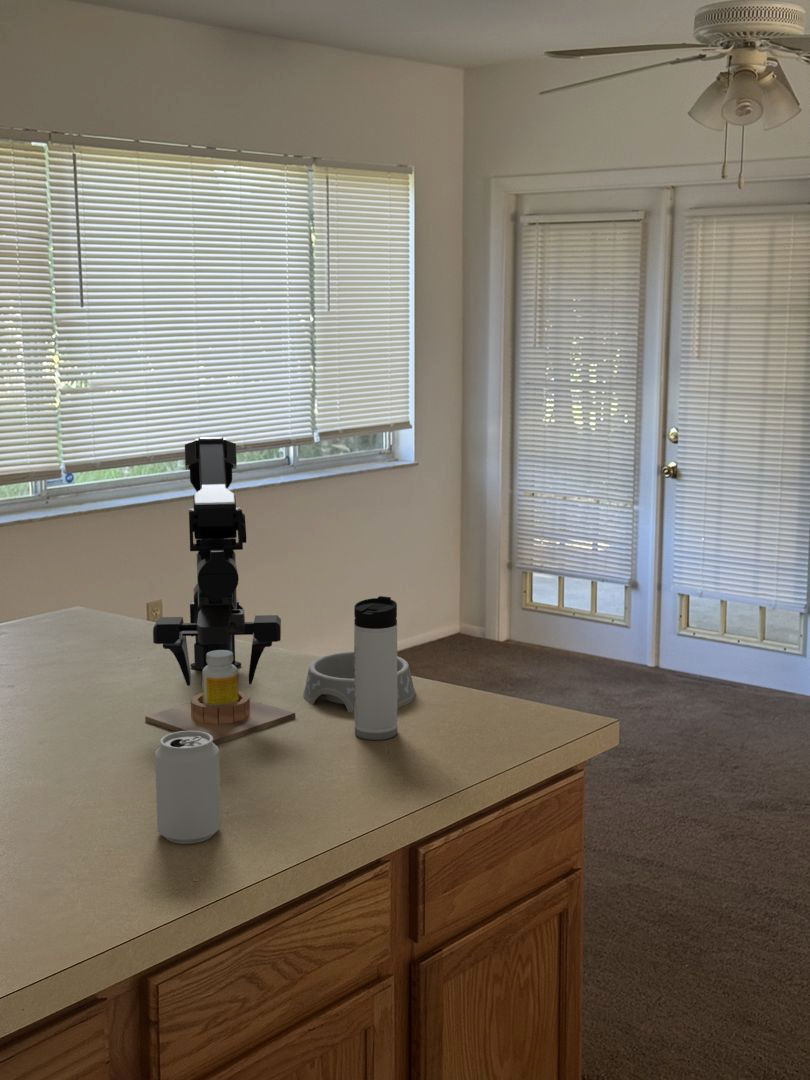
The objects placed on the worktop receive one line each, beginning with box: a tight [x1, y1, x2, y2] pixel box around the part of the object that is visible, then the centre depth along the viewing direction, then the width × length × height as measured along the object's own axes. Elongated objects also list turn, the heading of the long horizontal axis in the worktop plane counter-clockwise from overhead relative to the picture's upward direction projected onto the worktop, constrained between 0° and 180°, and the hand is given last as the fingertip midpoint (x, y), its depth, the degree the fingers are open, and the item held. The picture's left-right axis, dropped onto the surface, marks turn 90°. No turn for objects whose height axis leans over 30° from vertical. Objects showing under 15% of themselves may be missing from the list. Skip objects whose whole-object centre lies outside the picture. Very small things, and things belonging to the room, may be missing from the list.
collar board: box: [144, 690, 296, 746], centre depth 190 cm, size 16×16×3 cm
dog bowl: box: [302, 650, 417, 713], centre depth 203 cm, size 17×18×5 cm
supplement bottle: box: [201, 650, 239, 706], centre depth 190 cm, size 5×5×10 cm
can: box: [154, 731, 222, 845], centre depth 149 cm, size 8×8×12 cm
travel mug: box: [353, 595, 398, 741], centre depth 183 cm, size 6×7×20 cm
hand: (219, 684), depth 190 cm, fingers open, 9 cm apart
